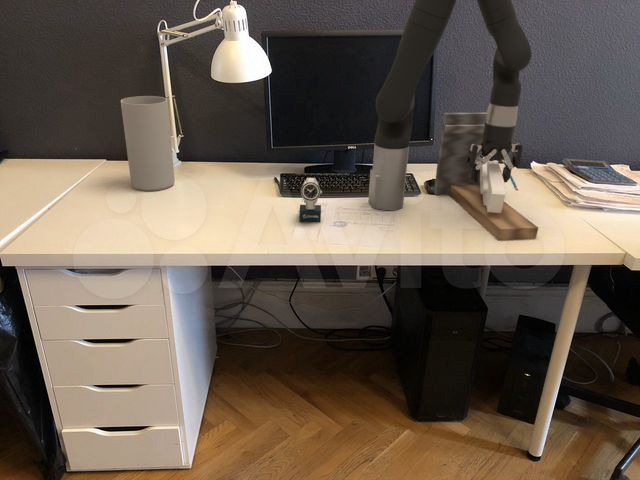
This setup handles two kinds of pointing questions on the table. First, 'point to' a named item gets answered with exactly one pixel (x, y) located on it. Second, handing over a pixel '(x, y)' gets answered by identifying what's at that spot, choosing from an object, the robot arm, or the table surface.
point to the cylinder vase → (148, 142)
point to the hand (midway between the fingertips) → (489, 181)
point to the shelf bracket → (492, 186)
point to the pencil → (513, 182)
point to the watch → (310, 202)
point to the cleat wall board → (458, 182)
